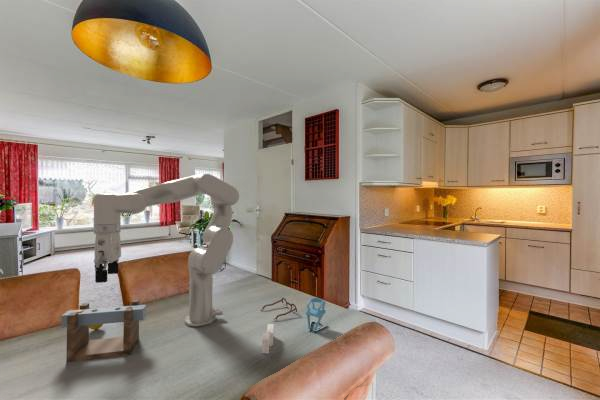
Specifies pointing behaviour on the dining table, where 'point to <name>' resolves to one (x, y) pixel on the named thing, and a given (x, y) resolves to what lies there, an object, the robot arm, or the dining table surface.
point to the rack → (91, 349)
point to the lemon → (95, 326)
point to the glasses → (286, 305)
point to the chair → (315, 311)
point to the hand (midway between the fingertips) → (107, 277)
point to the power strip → (104, 315)
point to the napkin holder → (267, 338)
